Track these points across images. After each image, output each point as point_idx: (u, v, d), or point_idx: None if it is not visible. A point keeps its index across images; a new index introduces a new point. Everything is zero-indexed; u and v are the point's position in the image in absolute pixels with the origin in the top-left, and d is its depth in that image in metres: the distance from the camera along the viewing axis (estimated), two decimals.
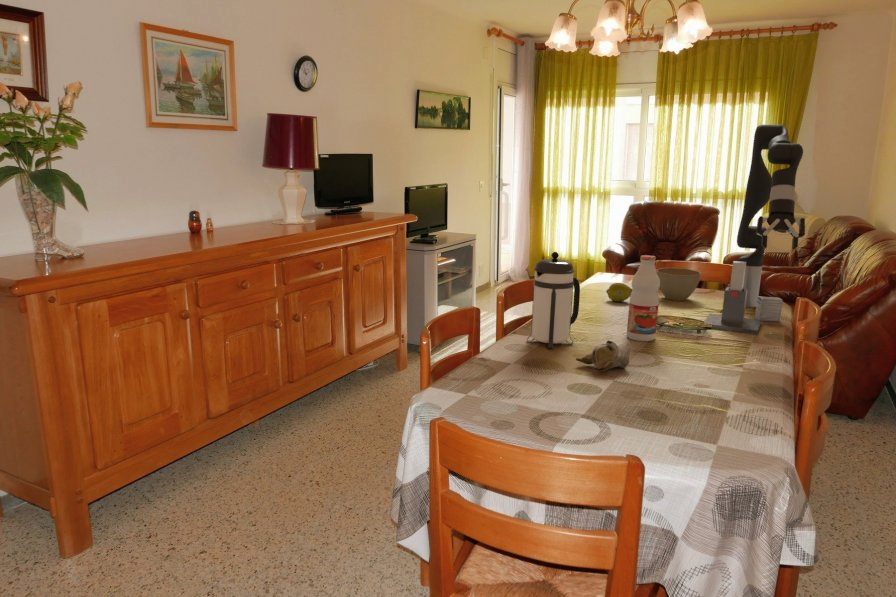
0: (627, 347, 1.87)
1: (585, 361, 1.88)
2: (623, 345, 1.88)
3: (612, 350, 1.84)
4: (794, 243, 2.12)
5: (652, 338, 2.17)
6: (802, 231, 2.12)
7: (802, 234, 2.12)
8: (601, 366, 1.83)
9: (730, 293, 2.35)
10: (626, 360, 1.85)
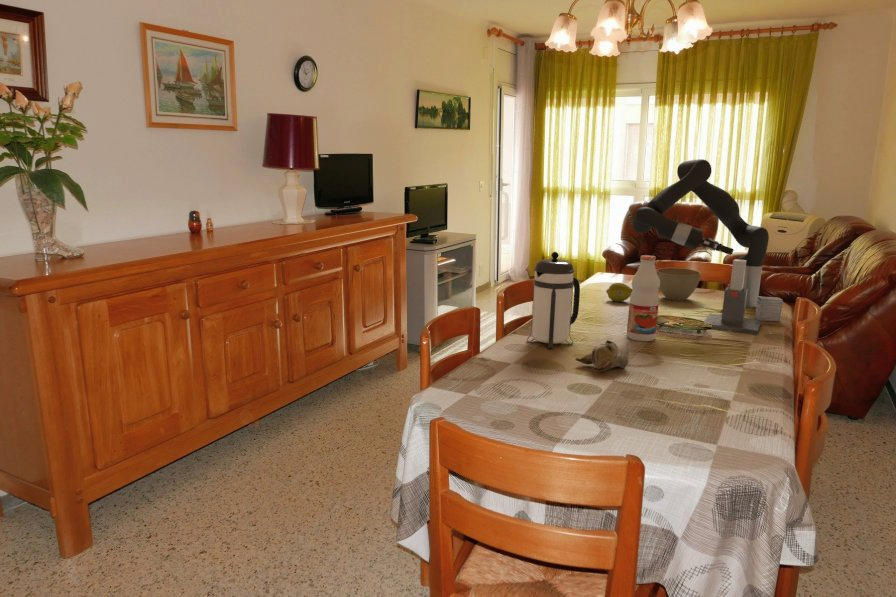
0: (626, 347, 1.87)
1: (585, 361, 1.88)
2: (622, 345, 1.88)
3: (611, 350, 1.84)
4: (726, 253, 2.30)
5: (652, 338, 2.17)
6: (715, 249, 2.29)
7: None
8: (600, 366, 1.83)
9: (730, 293, 2.35)
10: (625, 360, 1.85)
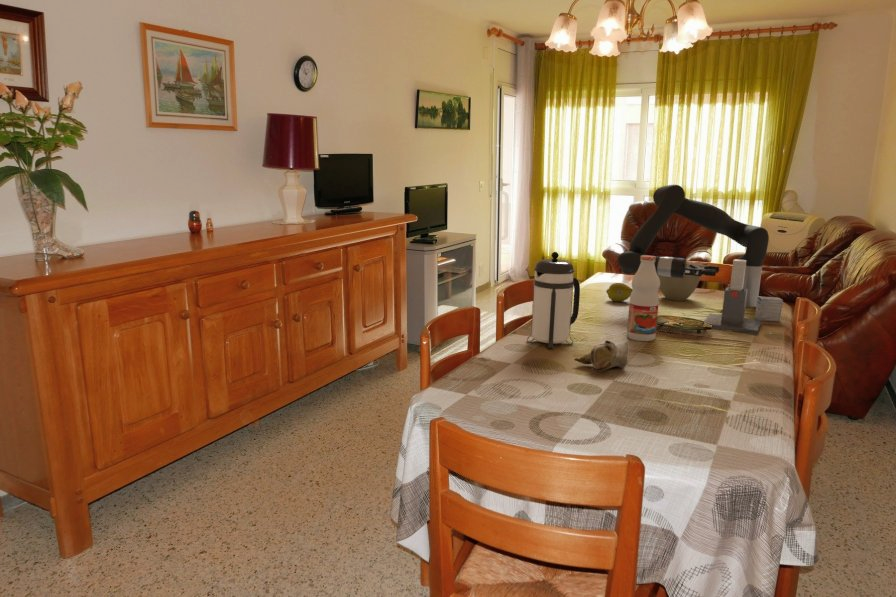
0: (625, 347, 1.87)
1: (584, 361, 1.88)
2: (621, 345, 1.88)
3: (610, 350, 1.84)
4: None
5: (652, 338, 2.17)
6: (697, 275, 2.37)
7: None
8: (600, 366, 1.83)
9: (730, 293, 2.35)
10: (624, 360, 1.85)
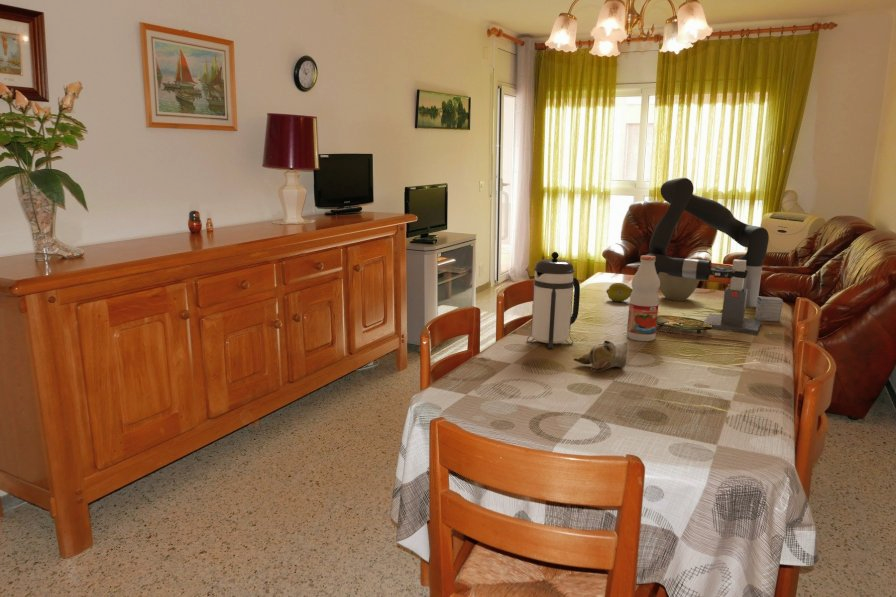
0: (624, 347, 1.87)
1: (583, 361, 1.88)
2: (620, 345, 1.88)
3: (609, 350, 1.84)
4: None
5: (652, 338, 2.17)
6: (727, 277, 2.33)
7: None
8: (599, 366, 1.83)
9: (730, 293, 2.35)
10: (624, 360, 1.85)
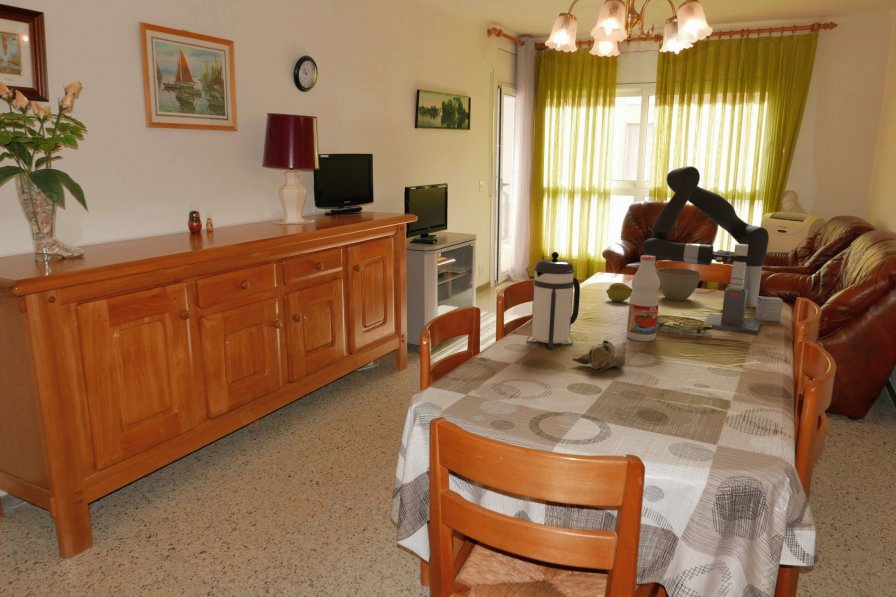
0: (623, 347, 1.87)
1: (582, 361, 1.88)
2: (619, 345, 1.88)
3: (608, 350, 1.84)
4: None
5: (652, 338, 2.17)
6: None
7: None
8: (598, 366, 1.83)
9: (730, 293, 2.35)
10: (622, 360, 1.86)
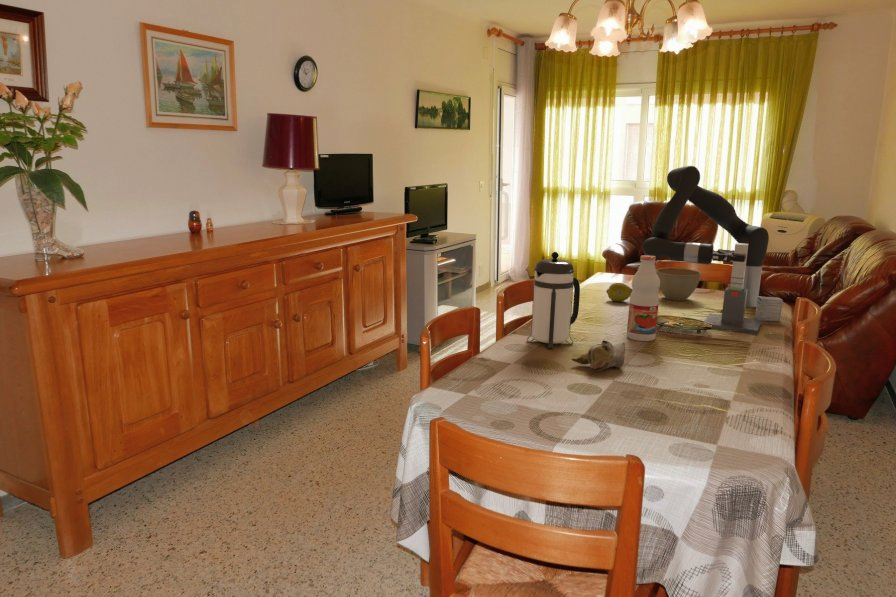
0: (622, 347, 1.87)
1: (581, 361, 1.88)
2: (618, 345, 1.88)
3: (607, 350, 1.84)
4: None
5: (652, 338, 2.17)
6: (725, 261, 2.31)
7: None
8: (597, 366, 1.83)
9: (730, 293, 2.35)
10: (622, 360, 1.86)
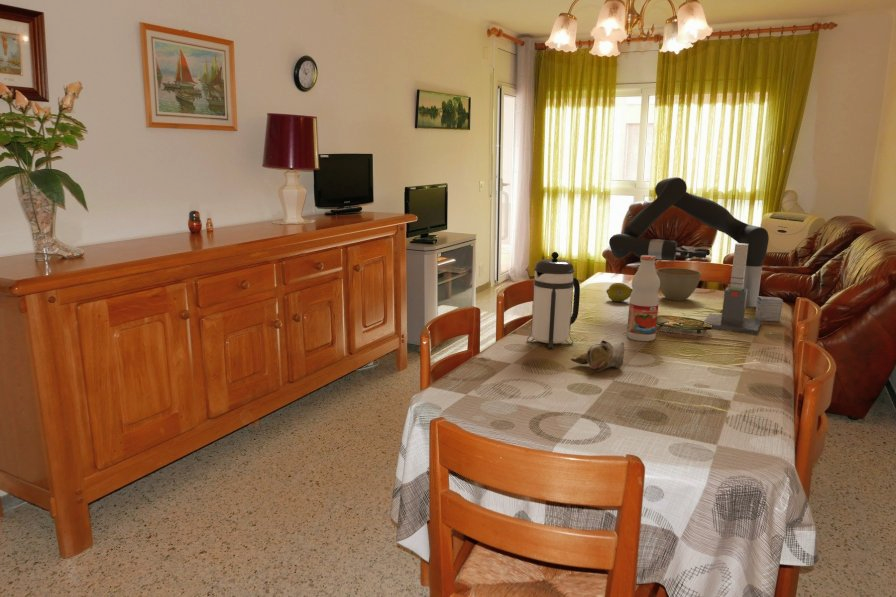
0: (622, 347, 1.87)
1: (580, 361, 1.88)
2: (617, 345, 1.88)
3: (607, 350, 1.84)
4: None
5: (652, 338, 2.17)
6: (687, 257, 2.37)
7: None
8: (596, 366, 1.83)
9: (730, 293, 2.35)
10: (621, 360, 1.85)
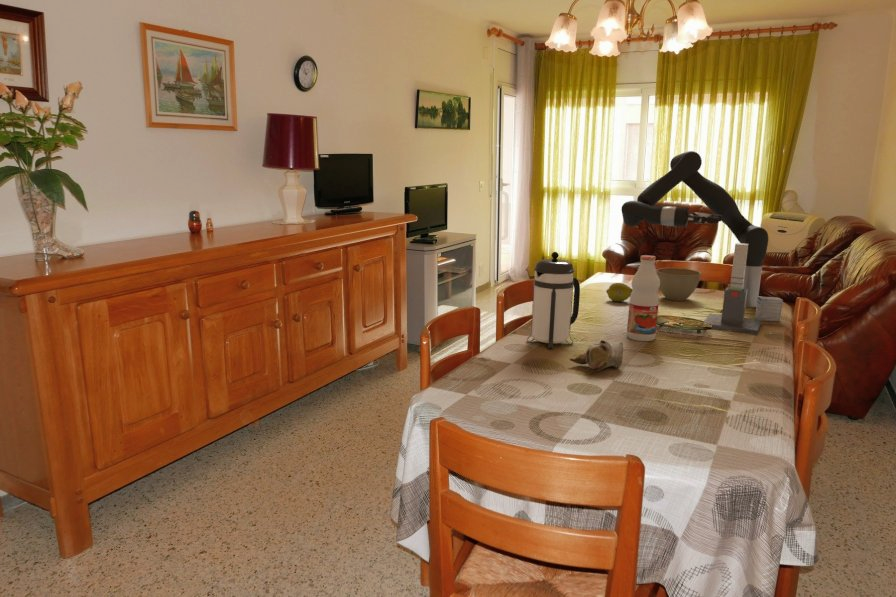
0: (620, 347, 1.87)
1: (579, 361, 1.88)
2: (616, 345, 1.88)
3: (606, 349, 1.84)
4: None
5: (652, 338, 2.17)
6: (700, 222, 2.38)
7: None
8: (595, 366, 1.83)
9: (730, 293, 2.35)
10: (620, 360, 1.86)
